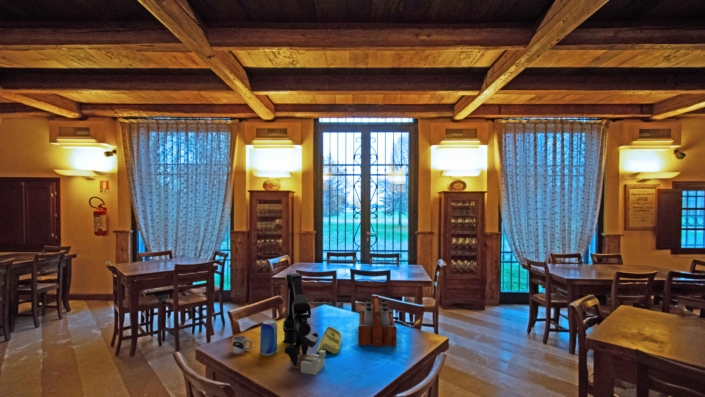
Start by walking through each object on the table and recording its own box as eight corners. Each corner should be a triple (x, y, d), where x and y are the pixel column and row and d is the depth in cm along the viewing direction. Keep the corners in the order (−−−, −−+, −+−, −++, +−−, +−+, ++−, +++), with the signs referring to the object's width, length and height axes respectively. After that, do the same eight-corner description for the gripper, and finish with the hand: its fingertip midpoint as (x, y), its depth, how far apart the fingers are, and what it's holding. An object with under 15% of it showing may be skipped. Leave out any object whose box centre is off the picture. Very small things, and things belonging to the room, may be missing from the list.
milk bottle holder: (357, 348, 172) (358, 311, 173) (359, 324, 207) (359, 294, 208) (397, 349, 171) (397, 312, 172) (392, 325, 206) (392, 295, 207)
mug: (230, 354, 163) (230, 341, 164) (234, 348, 170) (234, 335, 170) (250, 353, 164) (250, 340, 164) (253, 348, 171) (253, 335, 171)
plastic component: (339, 350, 164) (322, 341, 164) (333, 362, 164) (315, 354, 164) (342, 332, 184) (326, 324, 184) (336, 343, 184) (321, 335, 184)
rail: (290, 366, 151) (290, 356, 151) (294, 362, 155) (294, 352, 155) (313, 371, 147) (313, 360, 147) (316, 367, 151) (317, 356, 151)
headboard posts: (300, 372, 146) (300, 357, 146) (310, 362, 155) (310, 347, 156) (316, 375, 143) (316, 360, 143) (325, 365, 153) (325, 350, 153)
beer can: (280, 350, 168) (280, 319, 168) (270, 357, 160) (271, 325, 160) (266, 348, 171) (266, 317, 171) (256, 354, 163) (257, 323, 163)
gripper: (306, 338, 141) (306, 374, 140) (324, 323, 158) (323, 355, 158) (284, 334, 144) (283, 369, 144) (303, 321, 162) (303, 352, 161)
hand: (299, 361), depth 152 cm, fingers open, 9 cm apart
